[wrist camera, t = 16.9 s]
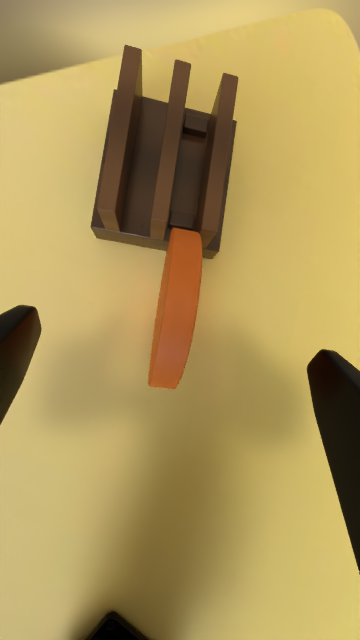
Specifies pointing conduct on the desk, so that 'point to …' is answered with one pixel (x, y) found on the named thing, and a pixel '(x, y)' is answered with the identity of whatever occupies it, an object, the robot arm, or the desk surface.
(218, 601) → the desk surface
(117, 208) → the rack
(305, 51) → the desk surface
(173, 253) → the disc
